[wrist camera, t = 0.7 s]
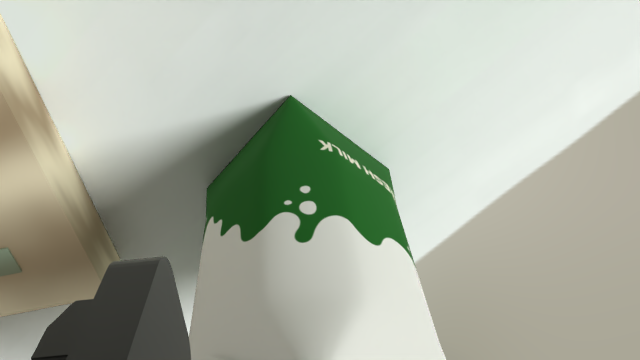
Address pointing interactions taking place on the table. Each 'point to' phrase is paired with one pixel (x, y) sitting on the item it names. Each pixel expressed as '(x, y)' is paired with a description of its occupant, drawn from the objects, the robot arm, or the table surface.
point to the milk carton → (307, 254)
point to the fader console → (42, 203)
